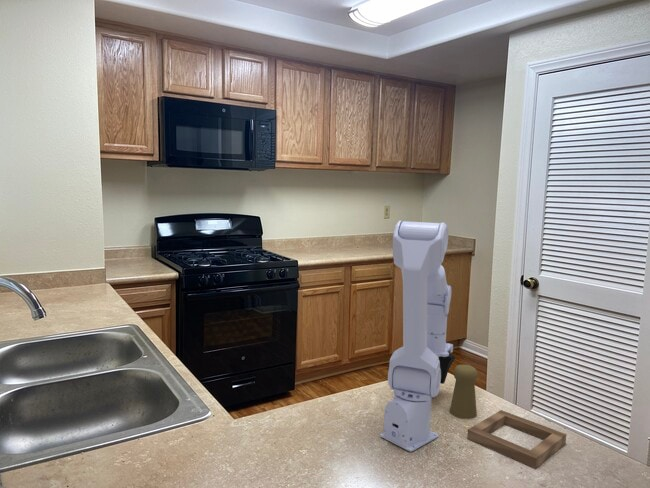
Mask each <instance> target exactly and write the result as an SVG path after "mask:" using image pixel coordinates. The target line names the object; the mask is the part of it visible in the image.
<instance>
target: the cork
mask: <svg viewBox="0 0 650 488" xmlns="http://www.w3.org/2000/svg"><path fill="white" fill-rule="evenodd" d="M453 378H454V379H455V381H454V382H455V383H454V387H453V392H452V398H451V403H450V407H449V413H450V414H451V415H452V416H453V417H456V418H459V419H464V420H471V419H475V418H476V417H477V416H478V413H477V399H476V397H477V396H476V385H475V382H476V381H477V379H478V371H477V368H475V367H474V366H472V365H469V364H457V365H456V366H455V367H454V370H453Z"/></svg>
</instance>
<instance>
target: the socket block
mask: <svg viewBox="0 0 650 488" xmlns="http://www.w3.org/2000/svg"><path fill="white" fill-rule="evenodd" d="M503 426H507V427H509V428H512V429H515V430H518V431H519V432H523V433H525V434H528V435H529V436H533V437H536V438H538V439H539V440H540V439H541V440H542V441H541V442H539V443H538V444H536V445H535V446H534V447H532V448H531V449H529V448H526V447H523V446H521V445H519V444H516V443H514V442H511V441H509V440H506V439H504V438H501V437H500V436H497V435H494V434H493V433H495V431H497V430H498V429H501V427H503ZM466 439H467V440H469V441H471V442H473V443H476V444H478V445H480V446H483V447H484V448H488V449H490V450H492V451H494V452H497V453H498V454H501V455H503V456H506V457H508V458H510V459H512V460H515V461H517V462H520V463H521V464H524V465H526V466H528V467H531V468H532V469H537V468H538V467H539V466H541V465H542V464H543V463H544V462H546V461H547V460H548V459H549V458H551V456H553V455H554V454H555V453H557V452H558V450H560V449H561V448H562V447H564V445H566V443H567V433H565V432H561V431H558V430H556V429H554V428H550V427H548V426H545V425H543V424H540V423H537V422H534V421H532V420H529V419H526V418H523V417H521V416H518V415H515V414H513V413H510V412H507V411H505V410H502V409H500V410H499V411H496V412H495V413H494V414H492V415H490V416H489V417H487V418H485V419H483V420H482V421H479V422H478V423H476V424H475V425H473V426H471V427H469V428H468V429H467V436H466Z"/></svg>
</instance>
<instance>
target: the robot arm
mask: <svg viewBox="0 0 650 488" xmlns="http://www.w3.org/2000/svg"><path fill="white" fill-rule="evenodd" d="M448 245H449V227H448V224H446V222H426V221H425V222H423V221H420V222H419V221H404V220H398V222H397V223H396V224H395V226H394V229H393V235H392V258H393V264H394V265H395V266H396V267H398V268H399V269H400V270H401V279H402V315H403V316H402V321H403V323H402V327H403V329H402V330H403V331H402V332H403V334H402V338H403V340H402V341H403V345H402V346H401V347H399V348H398V349H396V350H394V351H393V352H392V354H391V357H390V359H389V363H388V364H389V367H388V372H387V385H388V387H389V388H390V390H393V392H392V393H393V395H394V396H393V398H392V399H391V400H390V401H388V403H387V404H386V405H385V407H384V412H383V413H384V414H383V415H384V417H383V432H381V433H379V435H380V437H381V438H382V439H384V440H387V442H391V443H392V444H394V445H396V446H398V447H400V448H402V449H404V450H406V451H407V452H414V451H415V450H417V449H419V448H421V447H423V446H424V445H426V444H428V443H430V442H432V441H433V440H435V439H437V438H438V437H439V434H438V433H437V432H434V431H432V430H431V416H432V415H431V414H432V398H435V397H436V396H438V394H439V392H440V387H441V385H444V384H445V382H446V379H447V377H448V372H449V370H450V368H451V366H452V364H453V363H454V361H455V359H456V355H455V354H452V353H453V352H454V344H452V343H448V342H447V327H448V326H447V325H448V314H449V312H450V303H451V299H452V286H451V285H448V281H447V276H446V270H445V268H444V266H443V265H442V263H443V262H444V260H445V259H444V258H445V256H446V252H447V249H448Z"/></svg>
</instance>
